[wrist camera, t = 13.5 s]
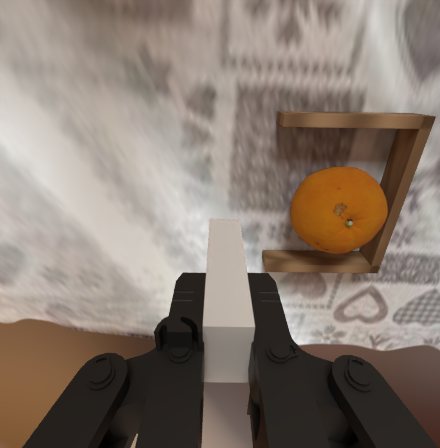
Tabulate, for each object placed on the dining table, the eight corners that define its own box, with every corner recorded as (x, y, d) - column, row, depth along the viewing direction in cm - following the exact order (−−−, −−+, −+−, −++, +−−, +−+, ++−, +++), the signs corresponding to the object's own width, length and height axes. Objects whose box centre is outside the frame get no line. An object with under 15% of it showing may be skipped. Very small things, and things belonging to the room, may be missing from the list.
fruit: (346, 141, 31) (383, 157, 24) (376, 207, 35) (415, 238, 28) (270, 188, 34) (283, 215, 27) (306, 244, 38) (325, 281, 31)
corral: (261, 257, 39) (265, 271, 36) (277, 111, 29) (284, 114, 26) (364, 258, 39) (377, 273, 36) (413, 113, 30) (436, 116, 26)
